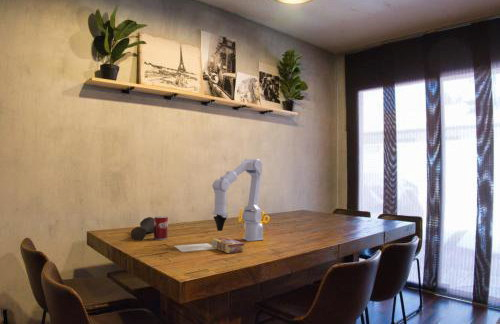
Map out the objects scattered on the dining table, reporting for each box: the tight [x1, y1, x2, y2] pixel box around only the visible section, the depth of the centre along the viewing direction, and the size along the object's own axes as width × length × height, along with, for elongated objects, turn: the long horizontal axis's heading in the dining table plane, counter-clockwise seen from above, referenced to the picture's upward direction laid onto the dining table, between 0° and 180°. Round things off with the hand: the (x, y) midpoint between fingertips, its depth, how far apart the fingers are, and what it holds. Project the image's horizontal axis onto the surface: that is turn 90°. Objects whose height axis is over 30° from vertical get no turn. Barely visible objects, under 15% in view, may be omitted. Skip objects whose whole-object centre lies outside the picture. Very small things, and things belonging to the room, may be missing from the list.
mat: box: [174, 242, 217, 253], centre depth 163 cm, size 17×13×1 cm
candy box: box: [211, 237, 245, 254], centre depth 160 cm, size 9×4×15 cm
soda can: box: [153, 215, 169, 241], centre depth 183 cm, size 7×7×12 cm
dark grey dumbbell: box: [130, 216, 154, 241], centre depth 192 cm, size 11×10×28 cm
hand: (219, 230), depth 169 cm, fingers closed
